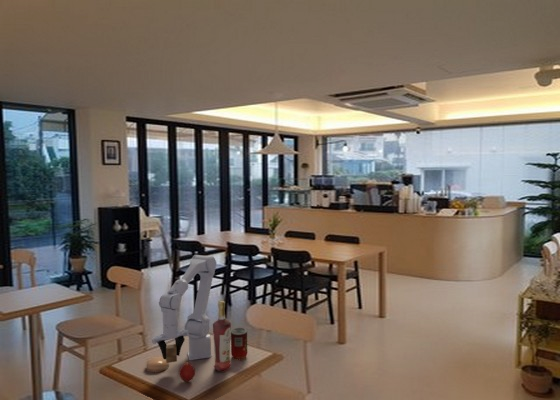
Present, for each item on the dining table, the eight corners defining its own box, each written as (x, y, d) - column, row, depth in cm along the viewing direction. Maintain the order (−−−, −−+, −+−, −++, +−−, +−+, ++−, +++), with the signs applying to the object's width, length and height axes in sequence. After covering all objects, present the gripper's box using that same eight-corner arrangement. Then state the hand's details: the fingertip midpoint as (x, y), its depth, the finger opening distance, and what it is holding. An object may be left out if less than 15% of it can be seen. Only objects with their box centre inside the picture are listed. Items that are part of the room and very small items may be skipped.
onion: (181, 378, 159) (180, 358, 158) (195, 377, 160) (195, 358, 159) (178, 386, 153) (178, 365, 153) (194, 385, 154) (193, 365, 153)
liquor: (223, 375, 162) (222, 306, 160) (209, 370, 165) (208, 303, 164) (235, 367, 168) (234, 300, 166) (221, 363, 172) (220, 298, 170)
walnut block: (175, 357, 166) (175, 344, 166) (176, 361, 162) (176, 348, 162) (165, 358, 165) (165, 345, 164) (166, 363, 161) (166, 349, 161)
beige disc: (168, 360, 175) (168, 354, 174) (169, 370, 166) (169, 364, 166) (146, 363, 172) (146, 358, 171) (146, 373, 163) (146, 367, 163)
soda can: (248, 359, 174) (248, 332, 174) (232, 361, 173) (231, 333, 172) (246, 353, 181) (245, 326, 181) (230, 354, 180) (229, 327, 179)
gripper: (184, 316, 170) (184, 348, 171) (149, 324, 162) (150, 357, 163) (190, 321, 164) (191, 354, 165) (154, 330, 156) (155, 364, 157)
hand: (171, 356), depth 163 cm, fingers closed on walnut block, 5 cm apart
